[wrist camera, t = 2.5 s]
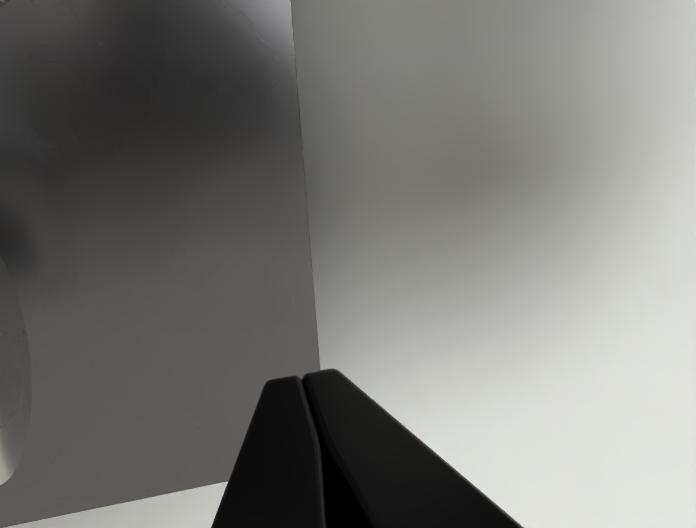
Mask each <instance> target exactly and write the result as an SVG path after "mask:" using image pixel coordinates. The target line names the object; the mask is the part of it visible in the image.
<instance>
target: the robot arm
mask: <svg viewBox="0 0 696 528" xmlns="http://www.w3.org/2000/svg"><path fill="white" fill-rule="evenodd" d="M211 528H524V527H522V526H521V525H520V524H519V523H518V522H516V521H515V520H514V519H513V518H512V517H511V516H509V515H508V514H507V513H506V512H505V511H504V510H502V509H501V508H500V507H499V506H498V505H496V504H495V503H494V502H493V501H492V500H491V499H489V498H488V497H487V496H486V495H485V494H483V493H482V492H481V491H480V490H479V489H478V488H476V487H475V486H474V485H473V484H472V483H471V482H469V481H468V480H467V479H466V478H465V477H463V476H462V475H461V474H460V473H459V472H458V471H456V470H455V469H454V468H453V467H452V466H450V465H449V464H448V463H447V462H446V461H445V460H443V459H442V458H441V457H440V456H439V455H437V454H436V453H435V452H434V451H433V450H432V449H430V448H429V447H428V446H427V445H426V444H425V443H423V442H422V441H421V440H420V439H419V438H417V437H416V436H415V435H414V434H413V433H412V432H410V431H409V430H408V429H407V428H406V427H404V426H403V425H402V424H401V423H400V422H399V421H397V420H396V419H395V418H394V417H393V416H392V415H390V414H389V413H388V412H387V411H386V410H384V409H383V408H382V407H381V406H380V405H379V404H377V403H376V402H375V401H374V400H373V399H371V398H370V397H369V396H368V395H367V394H366V393H364V392H363V391H362V390H361V389H360V388H359V387H357V386H356V385H355V384H354V383H353V382H351V381H350V380H349V379H348V378H347V377H346V376H344V375H343V374H342V373H341V372H340V371H338V370H336V369H326V370H321V371H315V372H310V373H306V374H304V375H303V378H302V379H301V378H300V377H299V376H297V375H293V376H287V377H282V378H276V379H271V380H268V381H267V382H266V383H265V385H264V387H263V389H262V392H261V395H260V397H259V400H258V403H257V405H256V408H255V411H254V414H253V416H252V419H251V422H250V424H249V427H248V430H247V432H246V435H245V438H244V441H243V443H242V446H241V449H240V451H239V454H238V457H237V459H236V462H235V465H234V468H233V470H232V473H231V476H230V478H229V481H228V484H227V486H226V489H225V492H224V495H223V497H222V500H221V503H220V505H219V508H218V511H217V513H216V516H215V519H214V522H213V524H212V527H211Z"/></svg>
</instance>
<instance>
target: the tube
mask: <svg viewBox="0 0 696 528" xmlns="http://www.w3.org/2000/svg"><path fill="white" fill-rule="evenodd" d="M31 400H32V381H31V364H30V354H29V346H28V339H27V333H26V328H25V323H24V318H23V314H22V310H21V306H20V302H19V299H18V296H17V293H16V290H15V287H14V284H13V281H12V279H11V276H10V274H9V272H8V270H7V267H6V265H5V263H4V261H3V259H2V258H1V256H0V485H1V484H3V483H4V482H6V481H7V480H8V479H9V478H10V477H11V476H12V475H13V473H14V472H15V470H16V468H17V467H18V465H19V462H20V460H21V458H22V455H23V452H24V449H25V445H26V441H27V437H28V431H29V425H30V415H31Z"/></svg>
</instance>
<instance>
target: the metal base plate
mask: <svg viewBox="0 0 696 528" xmlns="http://www.w3.org/2000/svg"><path fill="white" fill-rule="evenodd" d="M0 256H1V258H2V259H3V261H4V263H5V265H6V267H7V270H8V272H9V274H10V276H11V279H12V281H13V284H14V287H15V290H16V293H17V296H18V299H19V302H20V306H21V310H22V314H23V318H24V323H25V328H26V333H27V339H28V346H29V354H30V364H31V381H32V400H31V415H30V425H29V431H28V437H27V441H26V445H25V449H24V452H23V455H22V458H21V460H20V462H19V465H18V467H17V468H16V470H15V472H14V473H13V475H12V476H11V477H10V478H9V479H8V480H7V481H6V482H4V483H3V484H1V485H0V528H3V527H7V526H12V525H17V524H22V523H27V522H32V521H37V520H41V519H46V518H51V517H56V516H61V515H66V514H70V513H75V512H80V511H85V510H90V509H95V508H100V507H104V506H109V505H114V504H119V503H124V502H129V501H134V500H138V499H143V498H148V497H153V496H158V495H163V494H168V493H172V492H177V491H182V490H187V489H192V488H197V487H201V486H206V485H211V484H216V483H221V482H226V481H229V478H230V476H231V473H232V470H233V468H234V465H235V462H236V459H237V457H238V454H239V451H240V449H241V446H242V443H243V441H244V438H245V435H246V432H247V430H248V427H249V424H250V422H251V419H252V416H253V414H254V411H255V408H256V405H257V403H258V400H259V397H260V395H261V392H262V389H263V387H264V385H265V383H266V382H267V381H268V380H271V379H276V378H282V377H287V376H293V375H297V376H299V377H300V378H301V379H302V378H303V375H304V374H306V373H310V372H315V371H320V362H319V349H318V337H317V324H316V312H315V299H314V287H313V275H312V262H311V250H310V237H309V225H308V213H307V200H306V188H305V175H304V163H303V151H302V138H301V126H300V113H299V101H298V88H297V76H296V64H295V51H294V39H293V26H292V14H291V2H290V0H0Z"/></svg>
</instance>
